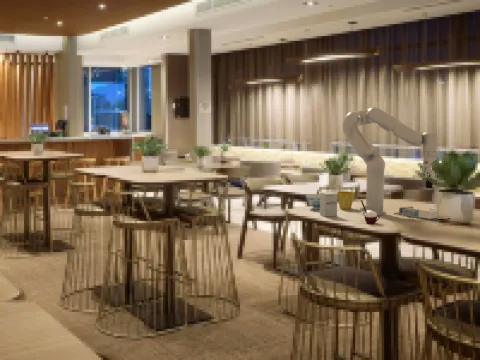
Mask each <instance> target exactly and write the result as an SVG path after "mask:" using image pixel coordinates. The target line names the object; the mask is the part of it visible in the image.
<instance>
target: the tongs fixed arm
mask: <svg viewBox="0 0 480 360" xmlns="http://www.w3.org/2000/svg"><path fill="white" fill-rule="evenodd" d="M405 208H413V209H414V206H411V205H410V206H403V207H399V209H398V210H399V211H398V213H402V214H408V215H414V216H419V211H413V210H407V209H405Z"/></svg>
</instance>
